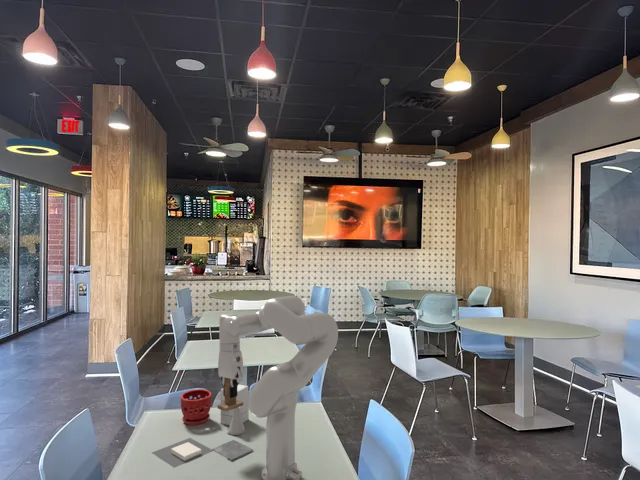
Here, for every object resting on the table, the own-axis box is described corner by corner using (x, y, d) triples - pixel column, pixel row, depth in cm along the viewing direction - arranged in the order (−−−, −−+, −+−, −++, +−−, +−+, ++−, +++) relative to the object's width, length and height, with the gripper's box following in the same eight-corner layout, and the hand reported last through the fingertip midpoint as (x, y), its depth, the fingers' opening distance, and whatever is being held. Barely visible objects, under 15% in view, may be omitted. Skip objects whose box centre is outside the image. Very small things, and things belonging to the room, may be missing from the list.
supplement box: (233, 416, 188) (233, 382, 189) (249, 419, 184) (249, 385, 185) (219, 423, 180) (219, 388, 180) (236, 427, 176) (236, 392, 176)
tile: (188, 446, 158) (201, 454, 152) (171, 453, 153) (184, 461, 147) (188, 442, 158) (201, 449, 152) (171, 448, 153) (184, 456, 147)
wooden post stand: (243, 405, 157) (242, 364, 158) (225, 411, 151) (225, 369, 151) (234, 402, 160) (234, 362, 161) (217, 408, 154) (217, 367, 155)
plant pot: (175, 421, 183) (175, 393, 183) (203, 413, 192) (203, 387, 192) (188, 430, 173) (188, 401, 173) (216, 421, 182) (216, 394, 182)
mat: (213, 451, 155) (213, 450, 155) (174, 468, 143) (174, 467, 143) (190, 438, 166) (190, 437, 166) (151, 453, 153) (151, 452, 153)
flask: (241, 436, 167) (241, 411, 168) (224, 435, 169) (224, 410, 169) (247, 429, 174) (247, 405, 175) (231, 427, 176) (231, 403, 176)
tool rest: (253, 451, 155) (253, 449, 155) (231, 461, 148) (231, 459, 148) (233, 441, 163) (233, 439, 163) (211, 450, 156) (211, 449, 156)
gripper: (251, 347, 154) (252, 397, 153) (224, 342, 165) (225, 389, 164) (235, 351, 148) (236, 403, 148) (208, 346, 159) (209, 394, 158)
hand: (230, 395), depth 156 cm, fingers closed on wooden post stand, 3 cm apart
